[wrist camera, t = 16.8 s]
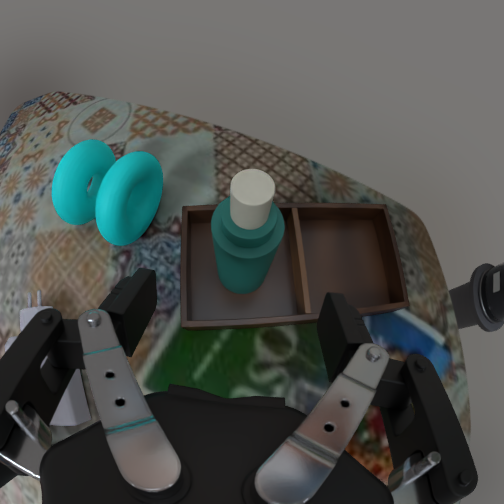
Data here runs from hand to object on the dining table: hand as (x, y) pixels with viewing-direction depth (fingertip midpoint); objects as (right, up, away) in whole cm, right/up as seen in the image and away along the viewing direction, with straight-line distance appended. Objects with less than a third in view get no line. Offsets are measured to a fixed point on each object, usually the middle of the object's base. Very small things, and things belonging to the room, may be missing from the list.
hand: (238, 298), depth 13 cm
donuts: (-15, +7, +19) cm, 25 cm away
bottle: (0, 0, +16) cm, 16 cm away
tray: (+5, 0, +18) cm, 18 cm away
